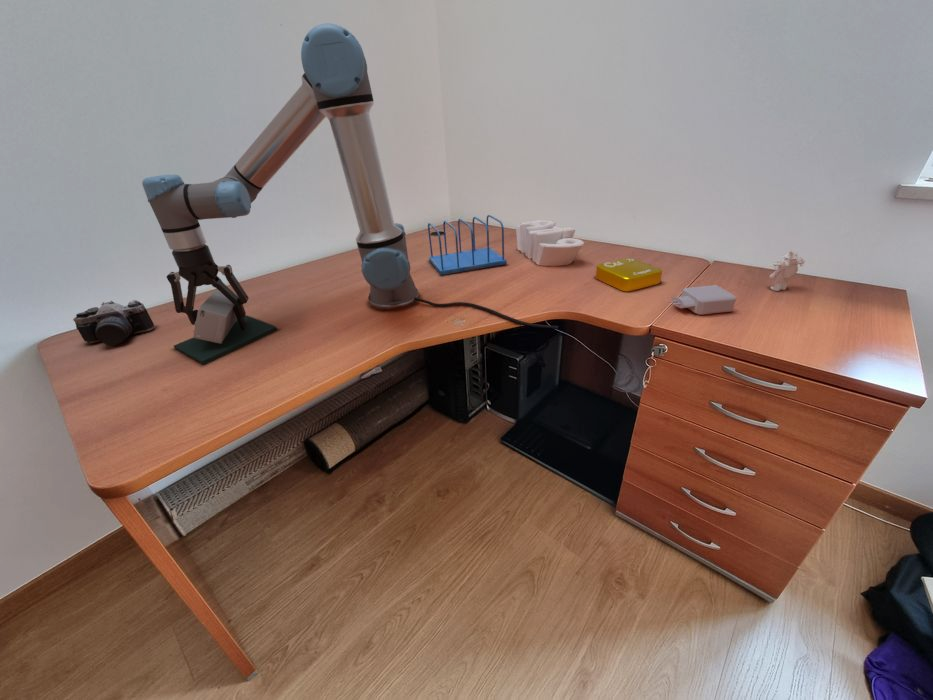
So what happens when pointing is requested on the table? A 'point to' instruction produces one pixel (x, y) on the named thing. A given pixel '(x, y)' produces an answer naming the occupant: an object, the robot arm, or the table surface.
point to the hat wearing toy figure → (786, 270)
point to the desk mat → (225, 341)
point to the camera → (113, 322)
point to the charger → (705, 300)
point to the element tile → (628, 274)
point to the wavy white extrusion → (547, 243)
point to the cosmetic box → (215, 318)
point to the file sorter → (466, 252)
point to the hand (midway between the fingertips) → (224, 331)
